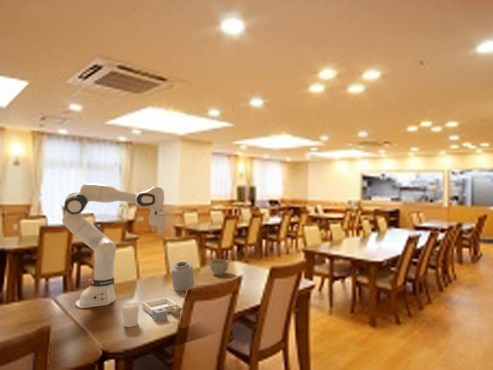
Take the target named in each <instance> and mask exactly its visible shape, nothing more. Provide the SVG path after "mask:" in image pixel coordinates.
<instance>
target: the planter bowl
mask: <svg viewBox="0 0 493 370" xmlns="http://www.w3.org/2000/svg"><path fill="white" fill-rule="evenodd" d="M229 263H230V260H228V259H223V258H221V259H219V258H218V259H211V260H210V261H209V267H210V269H211V271H212V274H213V276H214V275H215V276H224V275H225V273H226V272H227V270H228V267H229Z"/></svg>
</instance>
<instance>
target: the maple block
mask: <svg viewBox="0 0 493 370" xmlns="http://www.w3.org/2000/svg"><path fill="white" fill-rule="evenodd" d="M181 310H182V311H183V307H182V306H181V305H179V304H177V306H172V308H171V312H170V313H171V316H173V317H174V318H177V317H181V316H180V313H181Z"/></svg>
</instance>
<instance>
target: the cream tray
mask: <svg viewBox="0 0 493 370" xmlns="http://www.w3.org/2000/svg"><path fill="white" fill-rule="evenodd" d="M177 305H178V304H177V303H176V302H174V301H173V300H171V298H168V297H162V298H156V299H151V300H148V301H143V302H142V309H143V310H144V311H145V312H146V313H147V314H148V315H149V316H151V317H152V311H153V309H157V308H162V307H163V308H165V309H166V310H167V314H168V313H171V308H172V306H177Z"/></svg>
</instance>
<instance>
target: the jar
mask: <svg viewBox="0 0 493 370" xmlns="http://www.w3.org/2000/svg"><path fill="white" fill-rule="evenodd" d="M180 256H182V253H181V255H180ZM170 271H171V279H172V286H173V289H174V290H175V291H178V292H184V291H188V290H187V288H190V287H192V288H193V287H194V285H195V275H194V269H193V265H191V263H188V262H187V261H177V262H176V263H175V264H174V265H173V267H172V268H171V270H170ZM190 289H191V288H190Z"/></svg>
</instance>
